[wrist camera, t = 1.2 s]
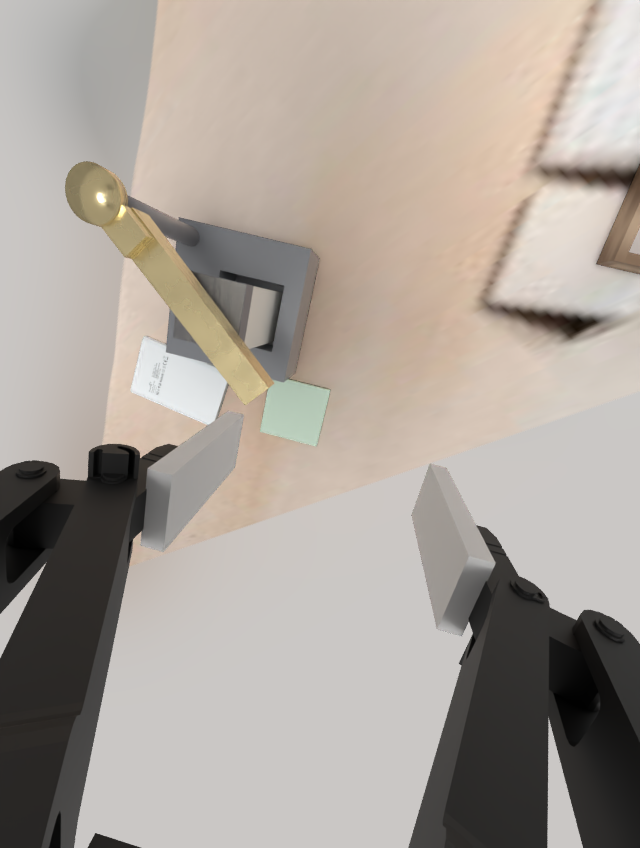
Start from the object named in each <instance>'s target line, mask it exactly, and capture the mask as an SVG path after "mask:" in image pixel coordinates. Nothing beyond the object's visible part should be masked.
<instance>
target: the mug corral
mask: <svg viewBox="0 0 640 848" xmlns="http://www.w3.org/2000/svg"><path fill="white" fill-rule="evenodd" d="M639 228H640V165H639V167H638V170H637V172H636V174H635V176H634V179H633V181H632V183H631V186H630V188H629V190H628V192H627V195H626V197H625V199H624V202H623V204H622V206H621V209H620V211H619V213H618V215H617V218H616V220H615V222H614V225H613V227H612V229H611V232H610V234H609V236H608V238H607V241H606V243H605V245H604V248H603V250H602V252H601V254H600V257H599V259H598V261H597V264H598V265H602V266H607V267H611V268H615V269H620V270H624V271H628V272H632V273H637V274H640V255H638V254H634V253H630V252H629V250H630V248H631V246H632V243H633V241H634V239H635V237H636V235H637V232H638V230H639Z"/></svg>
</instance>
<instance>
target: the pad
mask: <svg viewBox="0 0 640 848" xmlns="http://www.w3.org/2000/svg"><path fill="white" fill-rule="evenodd" d="M273 382H274V383H275V384H273V385H272V386H271V387H270V388H268V392H267V397H266V402H265V408H264V413H263V418H262V423H261V429H260V432H263V433H267V434H271V435H274V436H278V437H282V438H286V439H289V440H293V441H297V442H301V443H305V444H308V445H312V446H317V443H318V439H319V435H320V431H321V427H322V423H323V419H324V415H325V411H326V407H327V403H328V398H329V394H330V389H326V388H322V387H318V386H315V385H311V384H307V383H303V382H299V381H295V380H291V379H288V380H286V381H285V382H284V383H283V382H279V381H276V380H273Z"/></svg>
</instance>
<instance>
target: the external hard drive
mask: <svg viewBox="0 0 640 848" xmlns="http://www.w3.org/2000/svg"><path fill="white" fill-rule="evenodd" d="M228 385H229V384H228V383H227V381H226V380H225V379H224V378H223V376H222V375H221V374H220V372H219V371H218V370H217V369H216V367H215V366H214V365H213V364H209V363H206V362H202V361H198V360H194V359H190V358H186V357H182V356H178V355H175V354H171V353H167V352H166V344H165V343H163V342H160V341H158V340H155V339H153V338H151V337H148V336H144V337H143V339H142V343H141V347H140V352H139V356H138V361H137V365H136V369H135V373H134V377H133V381H132V386H131V392H132V393H134V394H137V395H139V396H141V397H144V398H146V399H148V400H151V401H153V402H155V403H157V404H160V405H162V406H164V407H167V408H169V409H171V410H174V411H176V412H178V413H181V414H183V415H185V416H188V417H190V418H192V419H195V420H197V421H199V422H202V423H204V424H206V425H209V424H210V423H212V422H213V421H215V420H216V419H217V418H218V416H219V413H220V410H221V407H222V404H223V401H224V397H225V394H226V391H227V388H228Z"/></svg>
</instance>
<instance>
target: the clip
mask: <svg viewBox="0 0 640 848" xmlns="http://www.w3.org/2000/svg"><path fill="white" fill-rule="evenodd" d="M65 191H66V197H67V201H68V203H69V205H70V207H71V209H72V210H73V212H74V213H75V214H76V215H77V216H78V217H79V218H80V219H81V220H83V221H85V222H87V223H90V224H93V225H96V226H99V227H102V229H103V230H104V231H105V232H106V234H107V235H108V236H109V238H110V239H111V240H112V241H113V243H114V244H115V245H116V247H117V248H118V249H119V250H120V252H121V253H122V254H123V256H124V257H126V258H130V259H132V260H133V261H134V263H135V264H136V265H137V267H138V268H139V269H140V270H141V272H142V273H143V274H144V276H145V277H146V278H147V279H148V281H149V282H150V283H151V285H152V286H153V287H154V288H155V290H156V291H157V292H158V294H159V295H160V296H161V298H162V299H163V300H164V301H165V303H166V304H167V305H168V307H169V308H170V309H171V310H172V312H173V313H174V314H175V316H176V317H177V318H178V319H179V321H180V322H181V323H182V325H183V326H184V327H185V328H186V330H187V331H188V332H189V334H190V335H191V336H192V338H193V339H194V340H195V341H196V343H197V344H198V345H199V347H200V348H201V349H202V350H203V352H204V353H205V354H206V356H207V357H208V358H209V359H210V361H211V362H212V363H213V365H214V366H215V367H216V369H217V370H218V371H219V372H220V374H221V375H222V376H223V378H224V379H225V380H226V381H227V383H228V384H229V385H230V387H231V388H232V389H233V390H234V392H235V393H236V394H237V396H238V397H239V398H240V399H241V401H242V402H243V403H244V405H247V404H248V403H249V402H251V401H252V400H253V399H255V398H256V397H257V396H259V395H260V394H262V393H263V392H264V391H266V390H267V389H268V388H270V387H271V386H272V385H273V384H275V383H274V382H273V380H272V379H271V378H270V376H269V375H268V374H267V372H266V371H265V370H264V368H263V367H262V366H261V364H260V363H259V362H258V360H257V359H256V358H255V356H254V355H253V354H252V352H251V351H250V350H249V348H248V347H247V346H246V344H245V343H244V342H243V340H242V339H241V338H240V336H239V335H238V334H237V332H236V331H235V330H234V328H233V327H232V325H231V324H230V323H229V321H228V320H227V319H226V317H225V316H224V315H223V313H222V312H221V311H220V309H219V308H218V307H217V305H216V304H215V303H214V301H213V300H212V299H211V297H210V296H209V295H208V293H207V292H206V291H205V289H204V288H203V287H202V285H201V284H200V283H199V281H198V280H197V279H196V277H195V276H194V275H193V273H192V272H191V271H190V269H189V268H188V267H187V265H186V264H185V263H184V261H183V260H182V259H181V257H180V256H179V255H178V253H177V252H176V251H175V249H174V248H173V247H172V245H171V244H170V243H169V241H168V240H167V239H166V237H165V236H164V235H163V233H162V232H161V231H160V229H159V228H158V227H157V225H156V224H155V223H154V221H153V220H152V219H151V217H150V216H149V215H148V214H146V213H144V212H142V211H139V210H137V209H135V208H133V207H132V208H129V207H128V196H127V192H126V189H125V187H124V185H123V183H122V182H121V180H120V179H119V178H118V177H117V176H116V175H115V174H114V173H112V172H111V171H109V170H107V169H105V168H103V167H102V166H100V165H98V164H96V163H93V162H87V161H86V162H81V163H78V164H76V165H75V166H74V167H73V168H72V169H71V170H70V172H69V173H68V176H67V178H66V185H65Z"/></svg>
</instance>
